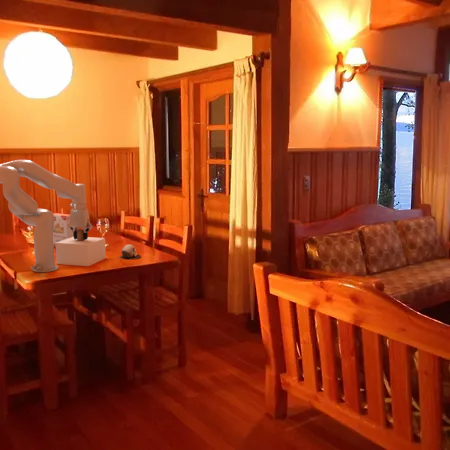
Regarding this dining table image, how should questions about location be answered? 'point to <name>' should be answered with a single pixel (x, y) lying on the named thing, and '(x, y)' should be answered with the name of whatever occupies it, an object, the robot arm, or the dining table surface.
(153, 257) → the dining table surface
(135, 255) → the skull
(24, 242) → the dining table surface
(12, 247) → the dining table surface
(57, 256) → the cover
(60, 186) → the robot arm
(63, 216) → the cracker box
